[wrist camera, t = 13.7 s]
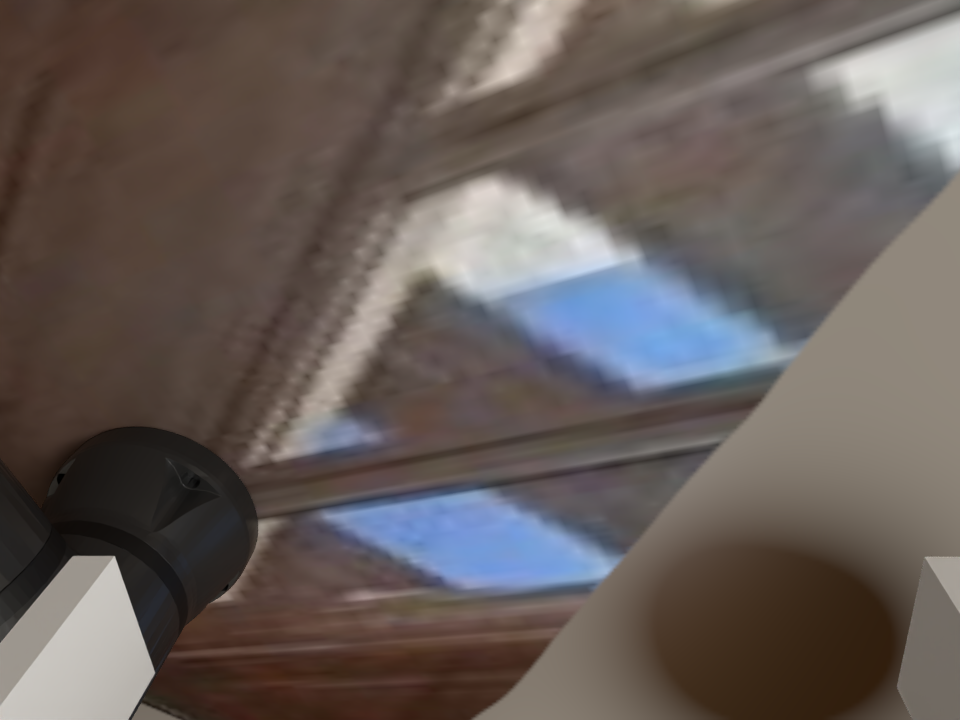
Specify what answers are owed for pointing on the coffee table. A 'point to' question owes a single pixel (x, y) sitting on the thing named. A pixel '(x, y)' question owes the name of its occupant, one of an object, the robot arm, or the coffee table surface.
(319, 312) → the coffee table surface
